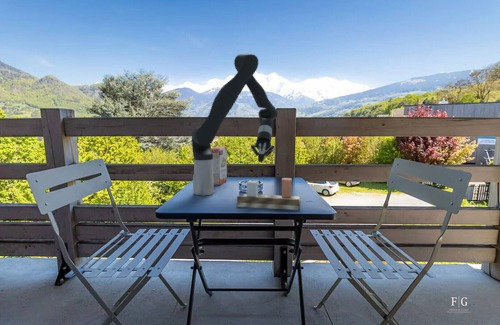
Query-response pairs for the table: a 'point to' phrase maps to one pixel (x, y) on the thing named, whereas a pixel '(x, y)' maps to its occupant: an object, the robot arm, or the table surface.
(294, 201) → the press stand
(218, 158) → the cracker box
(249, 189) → the white rectangular block
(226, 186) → the table surface
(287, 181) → the terracotta plug
